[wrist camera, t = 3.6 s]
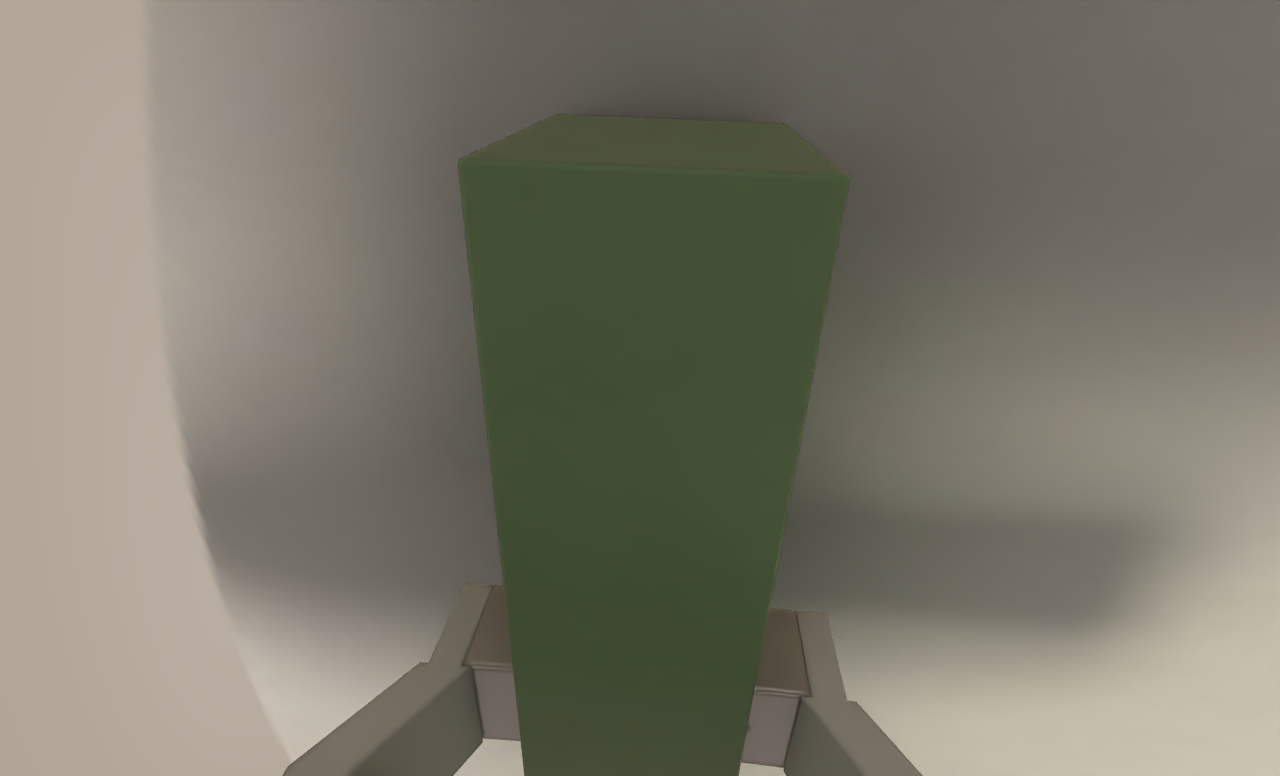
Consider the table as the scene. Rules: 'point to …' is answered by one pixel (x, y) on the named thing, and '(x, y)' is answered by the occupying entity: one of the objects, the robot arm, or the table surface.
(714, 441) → the bar
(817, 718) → the robot arm
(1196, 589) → the table surface
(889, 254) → the table surface
